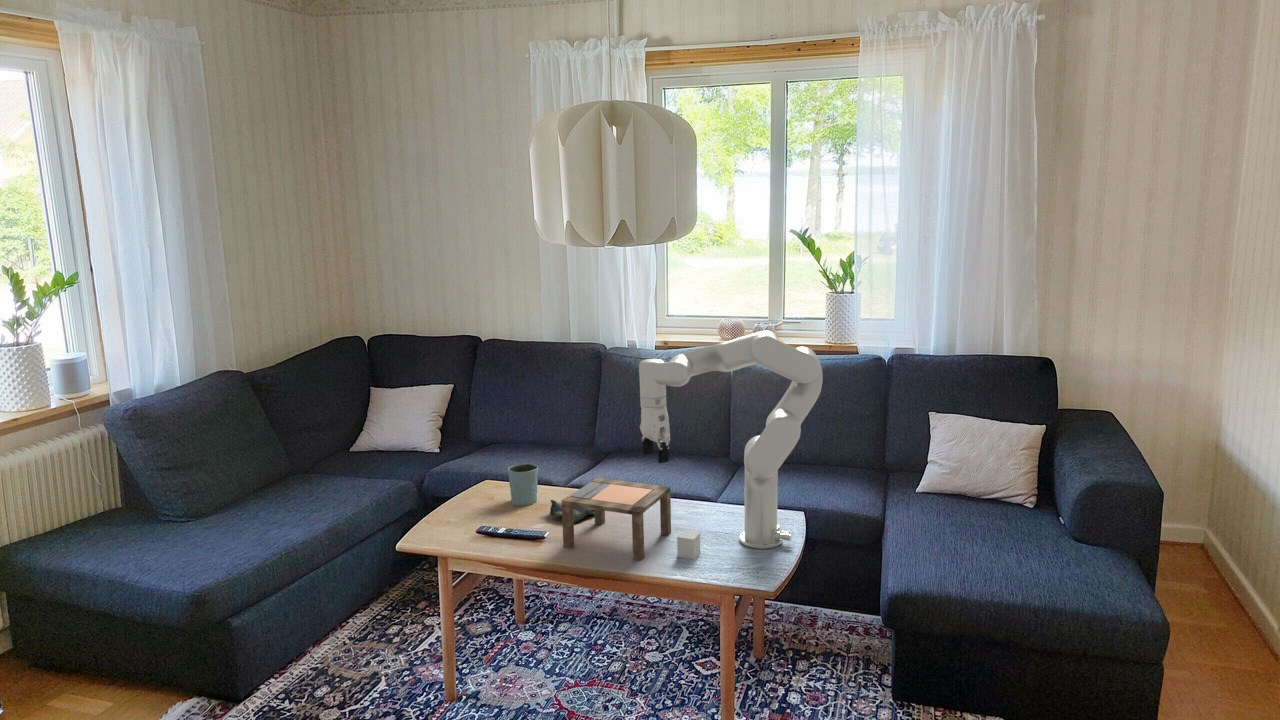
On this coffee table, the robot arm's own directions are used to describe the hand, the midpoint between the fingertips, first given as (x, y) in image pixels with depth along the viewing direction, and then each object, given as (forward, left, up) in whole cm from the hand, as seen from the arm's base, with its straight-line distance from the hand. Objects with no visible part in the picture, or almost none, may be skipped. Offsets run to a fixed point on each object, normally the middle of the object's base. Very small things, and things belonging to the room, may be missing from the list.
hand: (655, 458), depth 248 cm
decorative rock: (+33, -9, -25) cm, 42 cm away
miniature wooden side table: (+10, +6, -25) cm, 27 cm away
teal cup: (+55, -12, -25) cm, 61 cm away
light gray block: (-13, +8, -25) cm, 29 cm away
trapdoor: (+12, +6, -14) cm, 20 cm away
